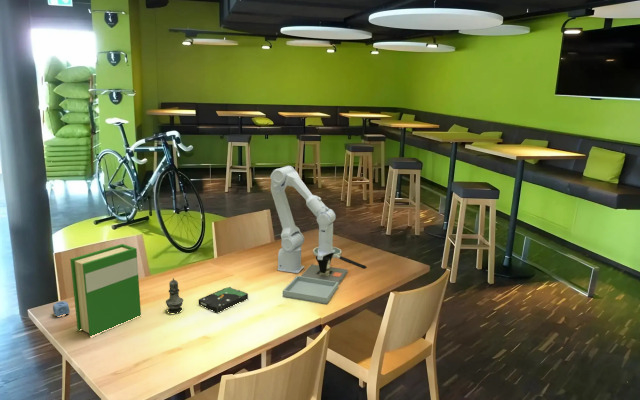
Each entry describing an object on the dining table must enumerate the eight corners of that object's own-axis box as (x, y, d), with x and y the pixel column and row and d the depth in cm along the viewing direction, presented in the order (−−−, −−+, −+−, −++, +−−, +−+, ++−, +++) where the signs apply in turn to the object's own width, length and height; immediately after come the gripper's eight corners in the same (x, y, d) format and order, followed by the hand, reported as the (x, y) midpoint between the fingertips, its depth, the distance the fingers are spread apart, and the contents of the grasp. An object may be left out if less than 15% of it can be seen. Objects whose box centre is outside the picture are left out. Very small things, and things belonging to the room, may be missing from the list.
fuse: (318, 277, 195) (318, 261, 193) (321, 273, 199) (321, 257, 197) (327, 278, 194) (328, 262, 192) (330, 274, 198) (331, 259, 196)
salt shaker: (167, 315, 160) (165, 282, 157) (164, 308, 165) (162, 276, 162) (185, 312, 162) (184, 279, 159) (181, 305, 167) (180, 273, 164)
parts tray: (282, 296, 176) (282, 290, 176) (297, 281, 190) (297, 275, 190) (326, 304, 171) (326, 298, 170) (338, 288, 185) (338, 282, 185)
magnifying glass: (354, 273, 202) (354, 269, 201) (307, 253, 224) (307, 249, 223) (375, 266, 210) (375, 262, 210) (327, 247, 233) (328, 243, 232)
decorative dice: (66, 310, 161) (65, 300, 160) (70, 315, 158) (68, 304, 157) (53, 314, 158) (52, 303, 158) (56, 318, 156) (55, 307, 155)
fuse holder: (300, 279, 192) (300, 275, 192) (311, 267, 205) (311, 263, 205) (338, 285, 188) (338, 281, 187) (347, 272, 201) (347, 269, 200)
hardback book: (91, 338, 145) (84, 264, 139) (77, 330, 149) (70, 258, 143) (141, 316, 159) (136, 248, 153) (127, 310, 163) (122, 243, 157)
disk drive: (218, 315, 162) (248, 300, 174) (217, 307, 162) (248, 292, 173) (198, 306, 168) (228, 292, 180) (197, 299, 167) (228, 285, 179)
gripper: (329, 246, 185) (328, 278, 188) (340, 235, 198) (338, 265, 201) (312, 243, 187) (312, 275, 190) (323, 233, 200) (323, 263, 203)
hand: (324, 270), depth 196 cm, fingers closed on fuse, 4 cm apart
